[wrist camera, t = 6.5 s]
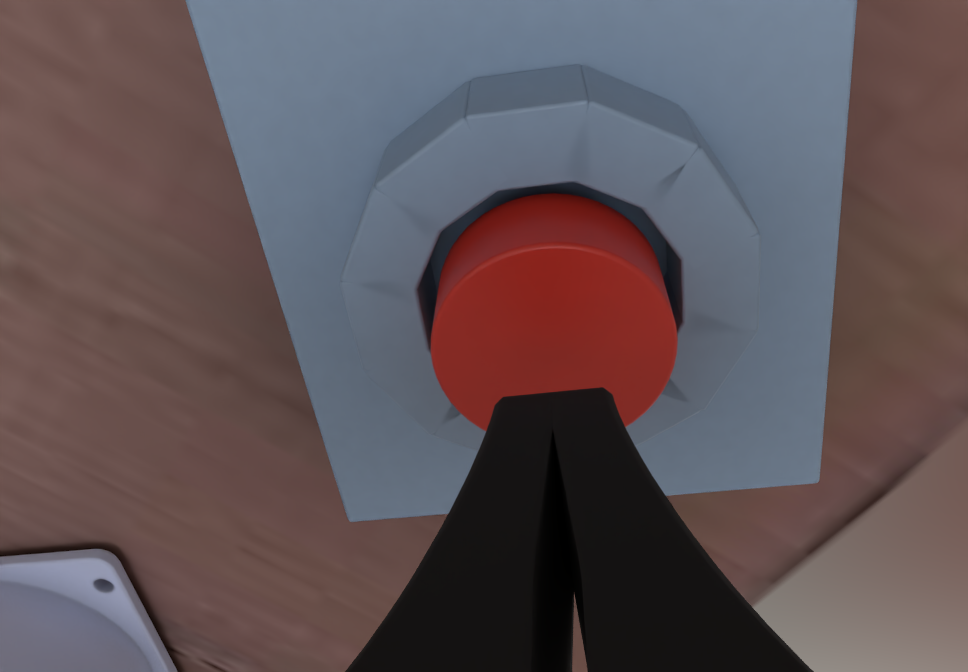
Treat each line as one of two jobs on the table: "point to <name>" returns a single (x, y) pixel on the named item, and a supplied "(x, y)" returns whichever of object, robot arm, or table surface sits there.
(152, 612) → the table surface
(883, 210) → the table surface
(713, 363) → the block
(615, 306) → the button
